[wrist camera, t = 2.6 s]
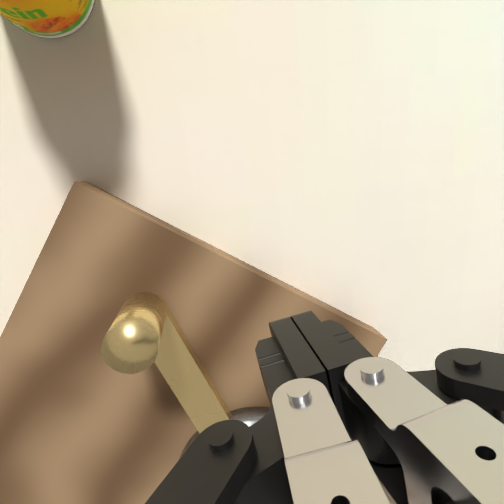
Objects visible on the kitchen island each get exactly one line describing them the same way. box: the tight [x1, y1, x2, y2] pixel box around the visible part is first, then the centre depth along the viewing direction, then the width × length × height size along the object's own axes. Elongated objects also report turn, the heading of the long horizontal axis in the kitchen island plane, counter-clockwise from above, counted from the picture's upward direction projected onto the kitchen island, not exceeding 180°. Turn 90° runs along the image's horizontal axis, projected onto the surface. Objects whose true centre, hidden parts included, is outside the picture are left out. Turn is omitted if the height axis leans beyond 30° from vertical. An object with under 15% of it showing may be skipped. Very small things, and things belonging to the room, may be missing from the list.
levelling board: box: [0, 181, 387, 504], centre depth 24 cm, size 22×26×5 cm
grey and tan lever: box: [101, 292, 269, 459], centre depth 21 cm, size 20×10×6 cm, turn 26°
